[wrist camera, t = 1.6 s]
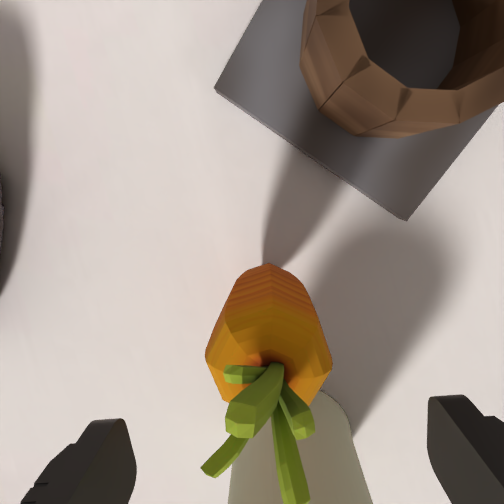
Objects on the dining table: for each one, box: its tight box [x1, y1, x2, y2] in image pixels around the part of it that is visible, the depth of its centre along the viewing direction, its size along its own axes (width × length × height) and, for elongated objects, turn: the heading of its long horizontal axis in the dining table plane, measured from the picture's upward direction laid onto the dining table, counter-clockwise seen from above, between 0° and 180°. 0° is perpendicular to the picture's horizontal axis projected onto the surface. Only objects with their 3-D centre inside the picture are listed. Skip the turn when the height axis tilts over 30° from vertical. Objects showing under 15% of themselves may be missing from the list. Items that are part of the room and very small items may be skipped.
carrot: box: [201, 263, 333, 504], centre depth 15 cm, size 5×5×15 cm
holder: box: [214, 0, 504, 221], centre depth 15 cm, size 14×14×7 cm
